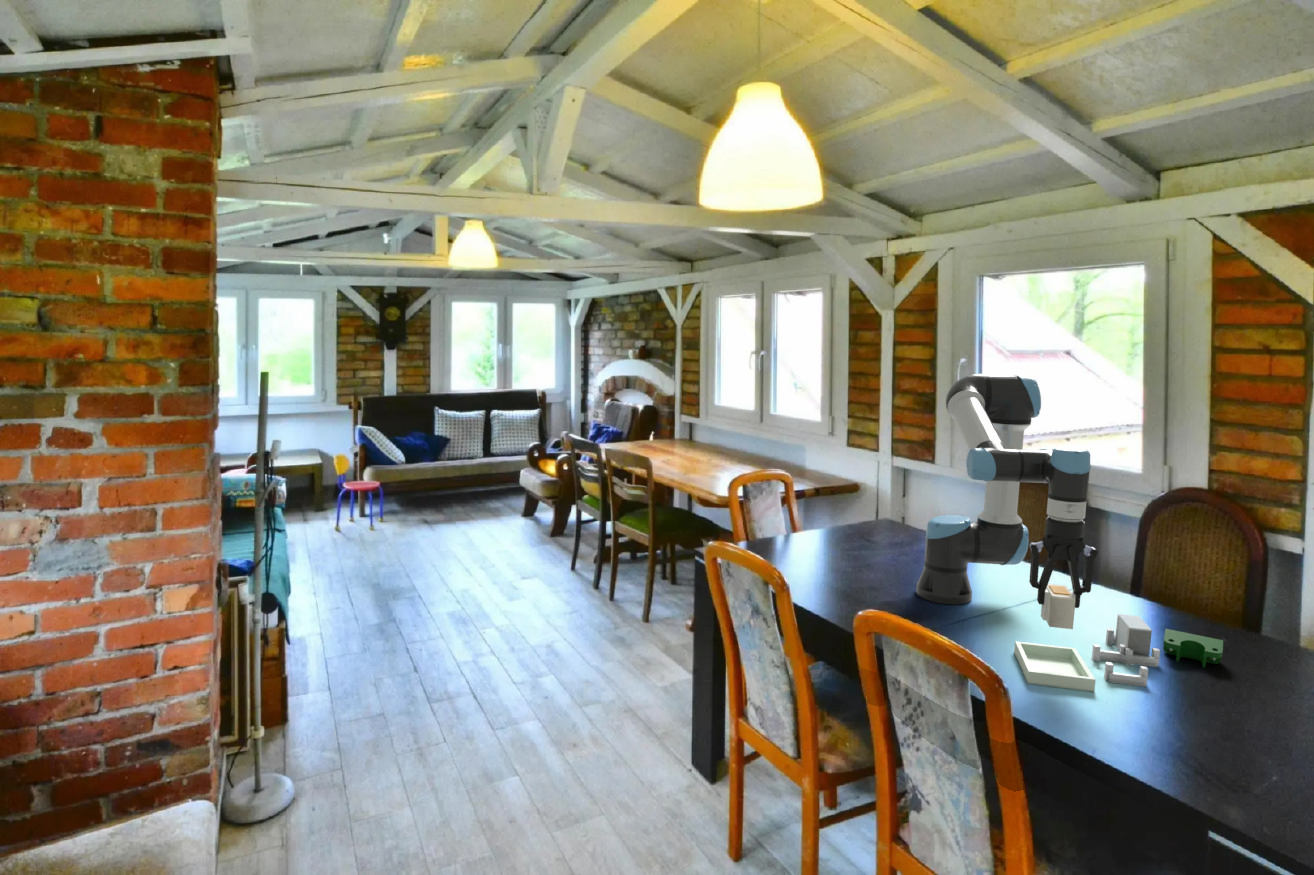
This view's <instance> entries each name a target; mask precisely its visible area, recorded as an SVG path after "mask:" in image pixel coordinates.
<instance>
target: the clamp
mask: <svg viewBox="0 0 1314 875" xmlns="http://www.w3.org/2000/svg"><path fill="white" fill-rule="evenodd" d="M1162 648H1163V652H1165V653H1166V654H1168V655H1171V656H1172V655H1173V656H1176V658H1175V662H1177V663H1178V662H1180V659H1181V658H1187V659H1191V660H1194V661H1199V662H1201V664H1202V668H1204V669H1205V668H1206V665H1207V663H1209V664H1214V665H1218V664H1220V663H1221V661H1222V657H1223V653H1224V652H1223V650H1224V640H1223V639H1219V638H1214V637H1208V636H1203V635H1199V634H1194V633H1193V634H1192V633H1189V632H1185V631H1181V630H1180V631H1178V630H1175V629H1169V628H1165V630H1164V638H1163V647H1162Z"/></svg>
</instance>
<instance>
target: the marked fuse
mask: <svg viewBox="0 0 1314 875" xmlns="http://www.w3.org/2000/svg"><path fill="white" fill-rule="evenodd" d="M1046 589H1047V590H1048V591H1049V602H1048V614H1047V620H1045V622H1046V623H1047V625H1048V627H1049V628H1057V629H1067V630H1068V629H1069V630H1073V629H1074V620H1075V610H1076V608H1075V597H1074V596H1073V595H1072V593H1071V592H1070V591H1071V590H1070V589H1069V588H1068V587H1067V585H1066V584H1056V583H1055V584H1054V583H1048V585H1047V588H1046ZM1041 608H1042V606H1041Z"/></svg>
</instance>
